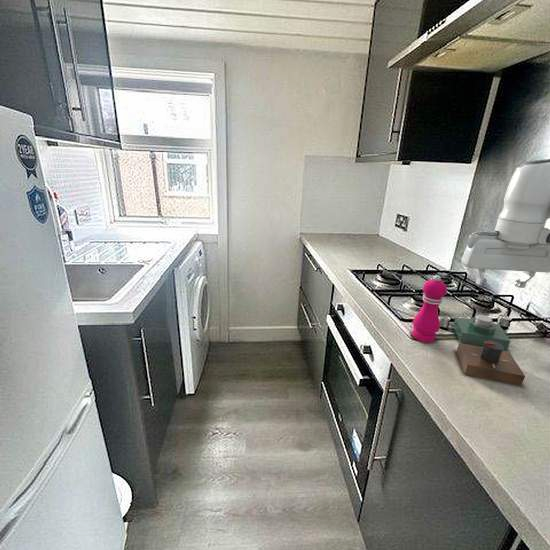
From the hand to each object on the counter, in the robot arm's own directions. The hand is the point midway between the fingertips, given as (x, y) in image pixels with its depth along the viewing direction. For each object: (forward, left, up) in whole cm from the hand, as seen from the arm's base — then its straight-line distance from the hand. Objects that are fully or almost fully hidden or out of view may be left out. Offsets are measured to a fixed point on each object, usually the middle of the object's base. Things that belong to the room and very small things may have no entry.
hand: (499, 285), depth 76 cm
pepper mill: (+13, -4, -21) cm, 25 cm away
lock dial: (0, +6, -18) cm, 19 cm away
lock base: (-1, +6, -21) cm, 22 cm away
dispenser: (-3, -10, -21) cm, 23 cm away
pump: (-2, -10, -16) cm, 19 cm away
